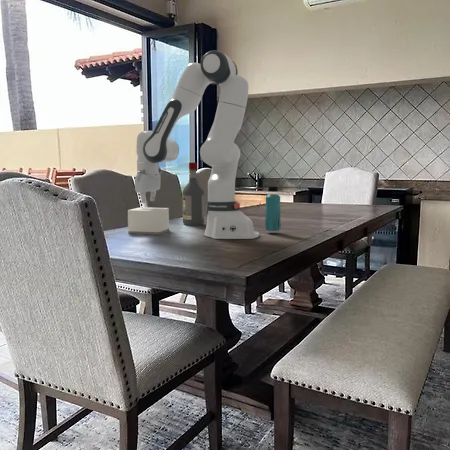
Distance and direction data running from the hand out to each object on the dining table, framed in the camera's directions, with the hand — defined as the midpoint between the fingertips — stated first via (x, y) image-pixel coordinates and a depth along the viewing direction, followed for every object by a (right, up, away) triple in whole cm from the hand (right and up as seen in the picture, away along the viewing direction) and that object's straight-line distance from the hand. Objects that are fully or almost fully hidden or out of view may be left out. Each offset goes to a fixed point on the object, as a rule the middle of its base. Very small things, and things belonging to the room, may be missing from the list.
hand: (148, 201), depth 193 cm
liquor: (+18, -10, +26) cm, 33 cm away
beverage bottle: (+53, -14, -3) cm, 55 cm away
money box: (0, -13, +2) cm, 13 cm away
